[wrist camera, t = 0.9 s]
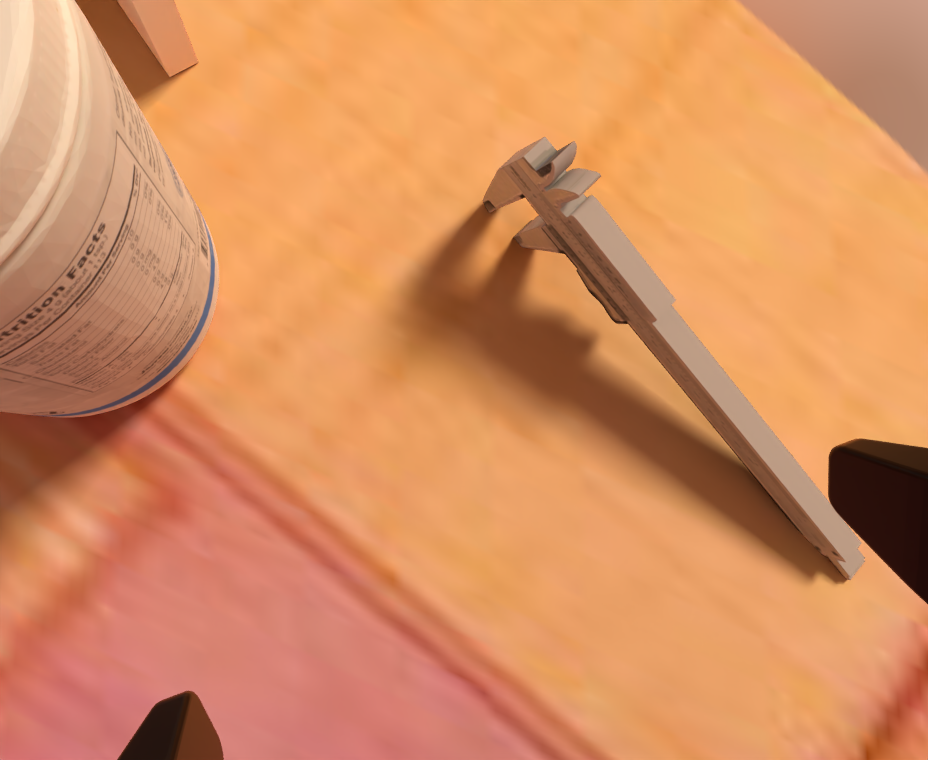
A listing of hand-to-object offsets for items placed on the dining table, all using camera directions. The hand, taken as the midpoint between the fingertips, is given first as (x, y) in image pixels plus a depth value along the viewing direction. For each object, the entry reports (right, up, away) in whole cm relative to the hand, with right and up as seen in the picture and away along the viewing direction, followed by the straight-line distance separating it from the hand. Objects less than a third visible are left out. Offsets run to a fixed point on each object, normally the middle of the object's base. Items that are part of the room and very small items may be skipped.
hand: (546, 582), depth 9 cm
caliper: (+7, +2, +18) cm, 19 cm away
